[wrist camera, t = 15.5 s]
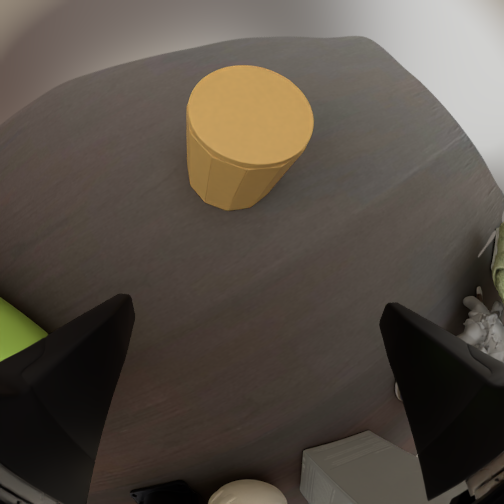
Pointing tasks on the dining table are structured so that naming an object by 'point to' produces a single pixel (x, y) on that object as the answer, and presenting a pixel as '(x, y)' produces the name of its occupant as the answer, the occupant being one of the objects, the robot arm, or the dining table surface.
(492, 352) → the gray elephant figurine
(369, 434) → the cosmetic box
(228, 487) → the steamed bun
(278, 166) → the cup-cap
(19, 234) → the dining table surface
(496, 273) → the washcloth
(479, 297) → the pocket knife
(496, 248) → the small box
